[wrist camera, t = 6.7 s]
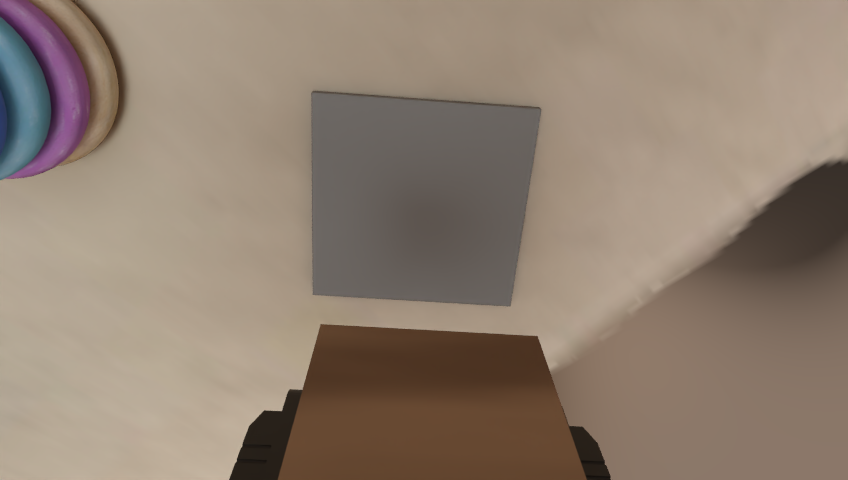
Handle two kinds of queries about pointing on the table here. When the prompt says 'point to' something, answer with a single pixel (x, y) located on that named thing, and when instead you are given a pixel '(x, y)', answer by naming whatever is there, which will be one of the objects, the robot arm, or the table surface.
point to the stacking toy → (51, 86)
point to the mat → (419, 197)
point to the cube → (428, 409)
